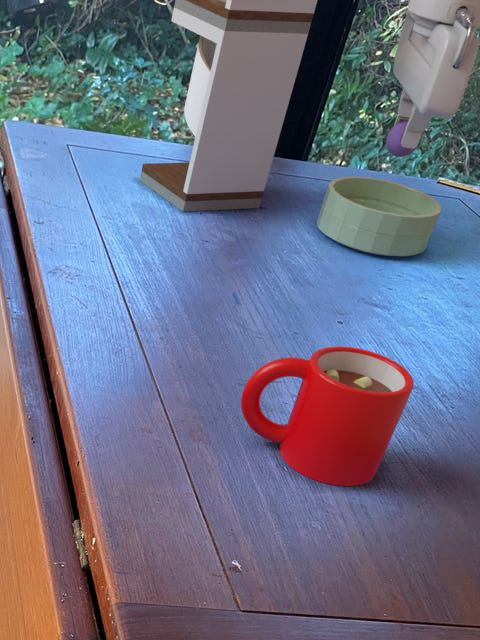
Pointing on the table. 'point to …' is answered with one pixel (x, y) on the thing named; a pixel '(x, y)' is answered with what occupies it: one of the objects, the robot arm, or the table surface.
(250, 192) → the brown-rimmed upright block
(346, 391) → the mug
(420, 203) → the bowl
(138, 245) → the table surface
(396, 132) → the ball
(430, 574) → the table surface
